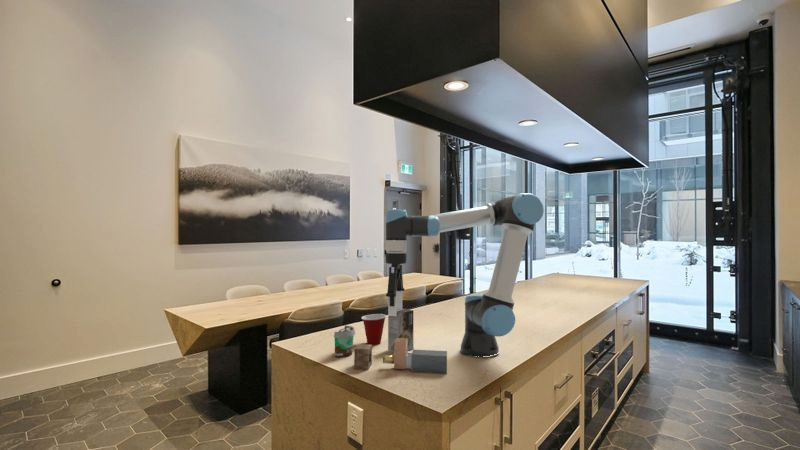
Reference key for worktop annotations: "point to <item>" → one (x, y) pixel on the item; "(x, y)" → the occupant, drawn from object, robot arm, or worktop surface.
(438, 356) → the block
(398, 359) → the slider
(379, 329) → the plastic cup
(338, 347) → the food container
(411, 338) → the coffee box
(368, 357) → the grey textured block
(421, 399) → the worktop surface
